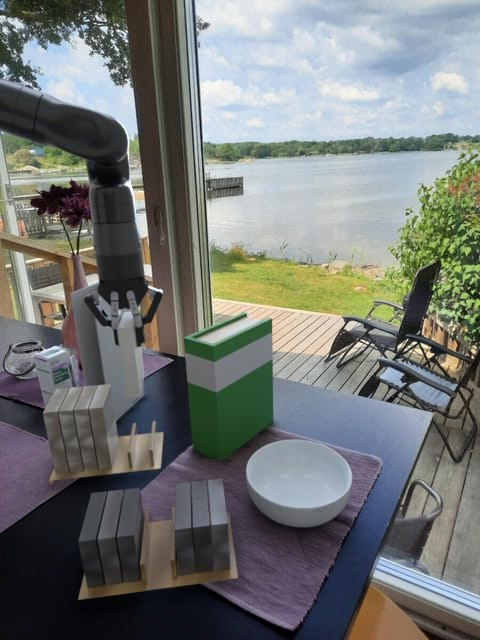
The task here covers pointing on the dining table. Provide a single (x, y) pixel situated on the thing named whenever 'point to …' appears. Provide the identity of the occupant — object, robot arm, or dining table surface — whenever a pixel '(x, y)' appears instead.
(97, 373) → the grey box
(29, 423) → the dining table surface
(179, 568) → the grey rack
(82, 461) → the beige rack
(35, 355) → the syrup box
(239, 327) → the hardback book
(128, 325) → the white book
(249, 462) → the cereal bowl
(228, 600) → the dining table surface
